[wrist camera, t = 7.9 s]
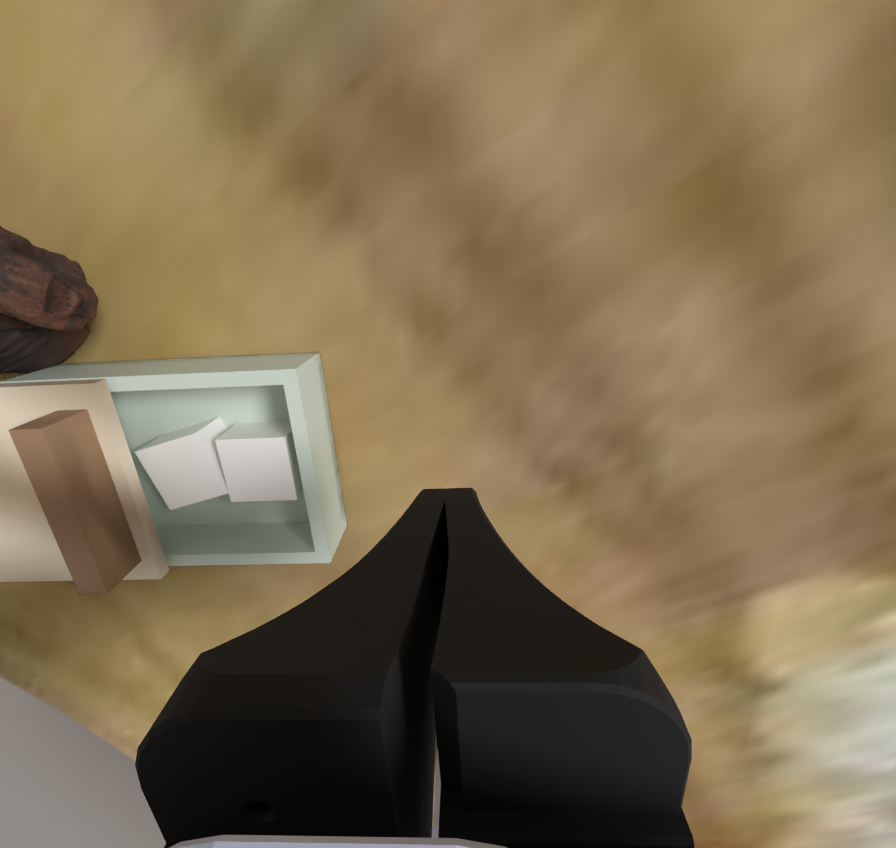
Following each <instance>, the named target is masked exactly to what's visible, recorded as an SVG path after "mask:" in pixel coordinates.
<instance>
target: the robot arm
mask: <svg viewBox="0 0 896 848" xmlns="http://www.w3.org/2000/svg"><path fill="white" fill-rule="evenodd" d="M435 736H437V747H438V748H437V765H436V782H435V799H434V816H433V826H432V815H433V786H434V761H435ZM690 763H691V738H690V735H689V733H688V731H687V728H686V725H685V723H684V720H683V718H682V715H681V713H680V711H679V709H678V707H677V705H676V703H675V701H674V699H673V697H672V696H671V694H670V692H669V691H668V689H667V687H666V686H665V684H664V682H663V681H662V679H661V677H660V676H659V674H658V673H657V671H656V669H655V668H654V666H653V665H652V663H651V662H650V660H649V659H648V657H647V655H646V654H645V652H644V651H643V650H642V649H640V648H638V647H637V646H635V645H633V644H631V643H629V642H628V641H626V640H624V639H622V638H620V637H618V636H617V635H615V634H613V633H611V632H609V631H608V630H606V629H604V628H602V627H600V626H599V625H597V624H596V623H594V622H592V621H591V620H589V619H588V618H586V617H585V616H583V615H582V614H580V613H579V612H577V611H576V610H574V609H573V608H572V607H570V606H569V605H567V604H566V603H565V602H564V601H562V600H561V599H560V598H559V597H557V596H556V595H555V594H554V593H552V592H551V591H550V590H549V589H547V588H546V587H545V586H544V585H543V584H542V583H541V582H540V581H539V580H537V579H536V578H535V577H534V576H533V575H532V574H531V573H530V572H529V571H528V570H527V569H526V568H525V567H524V566H523V564H522V563H521V562H520V561H519V560H518V559H517V558H516V557H515V555H514V554H513V553H512V552H511V551H510V549H509V548H508V547H507V545H506V544H505V543H504V542H503V540H502V539H501V537H500V536H499V535H498V533H497V532H496V530H495V529H494V527H493V526H492V524H491V523H490V521H489V519H488V518H487V516H486V514H485V512H484V511H483V509H482V507H481V505H480V502H479V500H478V497H477V494H476V491H474V490H473V489H472V488H451V489H423V490H422V491H421V492H420V493H419V494H418V496H417V497H416V498H415V500H414V501H413V503H412V504H411V505H410V506H409V508H408V509H407V510H406V512H405V513H404V514H403V515H402V517H401V518H400V519H399V520H398V521H397V523H396V524H395V525H394V526H393V527H392V528H391V530H390V531H389V532H388V533H387V534H386V535H385V536H384V537H383V538H382V539H381V540H380V541H379V542H378V543H377V544H376V545H375V547H374V548H373V549H372V550H371V551H370V552H369V553H368V554H367V555H365V556H364V557H363V558H362V559H361V560H360V561H359V562H358V563H357V564H355V565H354V566H353V567H352V568H350V569H349V570H348V571H347V572H346V573H344V574H343V575H342V576H340V577H339V578H338V579H336V580H335V581H334V582H332V583H331V584H329V585H328V586H326V587H325V588H323V589H322V590H320V591H319V592H318V593H316V594H315V595H313V596H312V597H310V598H309V599H307V600H306V601H304V602H303V603H301V604H299V605H297V606H296V607H294V608H292V609H291V610H289V611H287V612H286V613H284V614H282V615H280V616H278V617H277V618H275V619H273V620H271V621H269V622H267V623H265V624H264V625H262V626H260V627H258V628H256V629H254V630H252V631H249V632H247V633H245V634H243V635H241V636H239V637H236V638H234V639H232V640H230V641H228V642H226V643H223V644H221V645H219V646H217V647H215V648H213V649H210V650H208V651H205V652H203V653H201V654H200V655H199V657H198V658H197V659H196V661H195V662H194V664H193V665H192V666H191V668H190V669H189V670H188V672H187V673H186V674H185V676H184V677H183V679H182V680H181V682H180V683H179V685H178V686H177V688H176V689H175V691H174V693H173V694H172V696H171V697H170V699H169V700H168V702H167V703H166V705H165V707H164V708H163V710H162V711H161V713H160V714H159V716H158V717H157V719H156V721H155V722H154V724H153V725H152V727H151V728H150V730H149V731H148V733H147V735H146V736H145V738H144V739H143V741H142V742H141V744H140V745H139V747H138V750H137V757H136V764H135V766H136V770H137V773H138V777H139V781H140V785H141V789H142V791H143V793H144V795H145V797H146V800H147V802H148V804H149V806H150V808H151V810H152V812H153V815H154V817H155V819H156V821H157V824H158V826H159V828H160V830H161V832H162V834H163V837H164V839H165V841H166V845H165V847H164V848H694V841H693V836H692V834H691V831H690V828H689V826H688V823H687V821H686V818H685V815H684V813H683V810H682V808H681V806H682V802H683V797H684V792H685V787H686V782H687V777H688V773H689V768H690Z"/></svg>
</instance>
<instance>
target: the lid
mask: <svg viewBox="0 0 896 848" xmlns="http://www.w3.org/2000/svg"><path fill="white" fill-rule="evenodd" d="M168 571H169V567H168V564H167V561H166V558H165V555H164V552H163V549H162V546H161V543H160V540H159V537H158V534H157V531H156V528H155V525H154V522H153V519H152V516H151V513H150V510H149V507H148V504H147V501H146V498H145V495H144V492H143V489H142V486H141V483H140V480H139V477H138V474H137V471H136V468H135V465H134V462H133V459H132V456H131V453H130V450H129V447H128V444H127V441H126V438H125V435H124V432H123V429H122V426H121V423H120V420H119V417H118V414H117V411H116V408H115V405H114V402H113V399H112V396H111V393H110V390H109V387H108V384H107V381H106V379H94V380H71V381H47V382H24V383H1V384H0V582H30V581H74V584H75V586H76V588H77V591H78V593H79V594H97V593H109V592H110V591H111V590H112V589H113V588H114V587H115V586H116V585H117V584H118V583H119V582H120V581H121V580H144V579H162V578H163V577H164V576H165V575H166V574H167V572H168Z"/></svg>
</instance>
